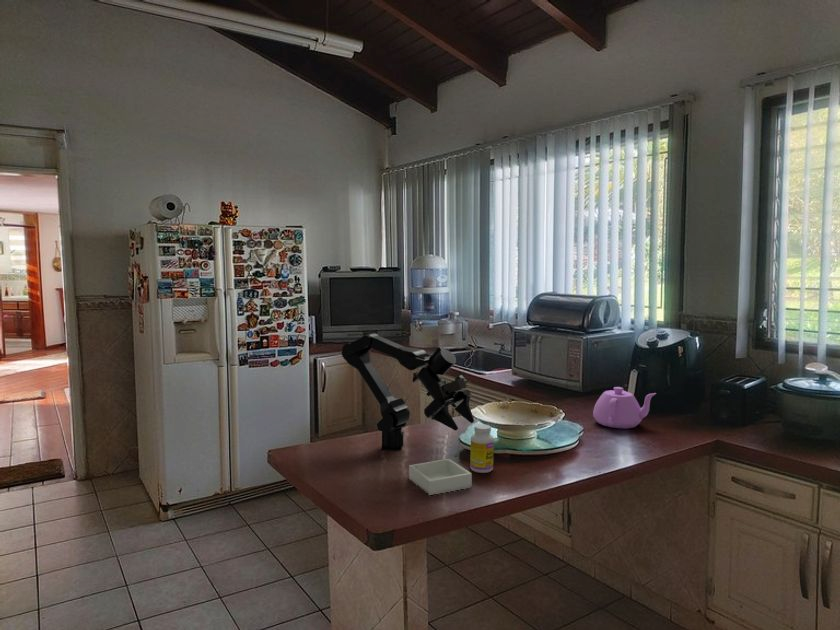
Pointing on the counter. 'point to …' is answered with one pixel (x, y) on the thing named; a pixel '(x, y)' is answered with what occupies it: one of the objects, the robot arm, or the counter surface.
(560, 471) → the counter surface
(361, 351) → the robot arm
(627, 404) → the teapot
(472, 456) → the supplement bottle
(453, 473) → the tote
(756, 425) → the counter surface
